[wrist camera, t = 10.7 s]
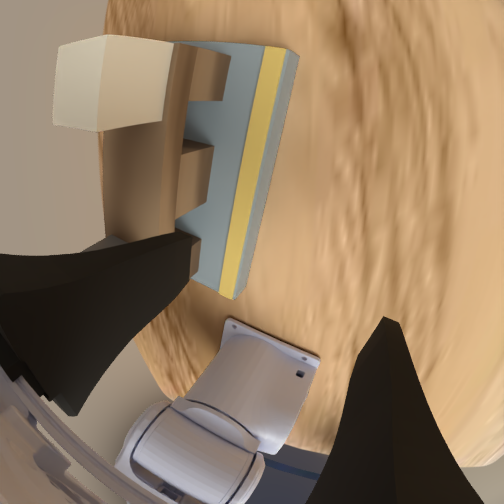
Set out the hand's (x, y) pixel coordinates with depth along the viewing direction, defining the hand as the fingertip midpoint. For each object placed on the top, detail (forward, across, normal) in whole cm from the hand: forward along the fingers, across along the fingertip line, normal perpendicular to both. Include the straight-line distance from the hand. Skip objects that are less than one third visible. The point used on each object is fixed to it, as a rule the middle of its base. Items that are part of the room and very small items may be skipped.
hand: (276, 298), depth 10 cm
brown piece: (+8, +10, 0) cm, 13 cm away
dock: (+10, +10, 0) cm, 15 cm away
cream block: (+3, +10, -6) cm, 12 cm away
